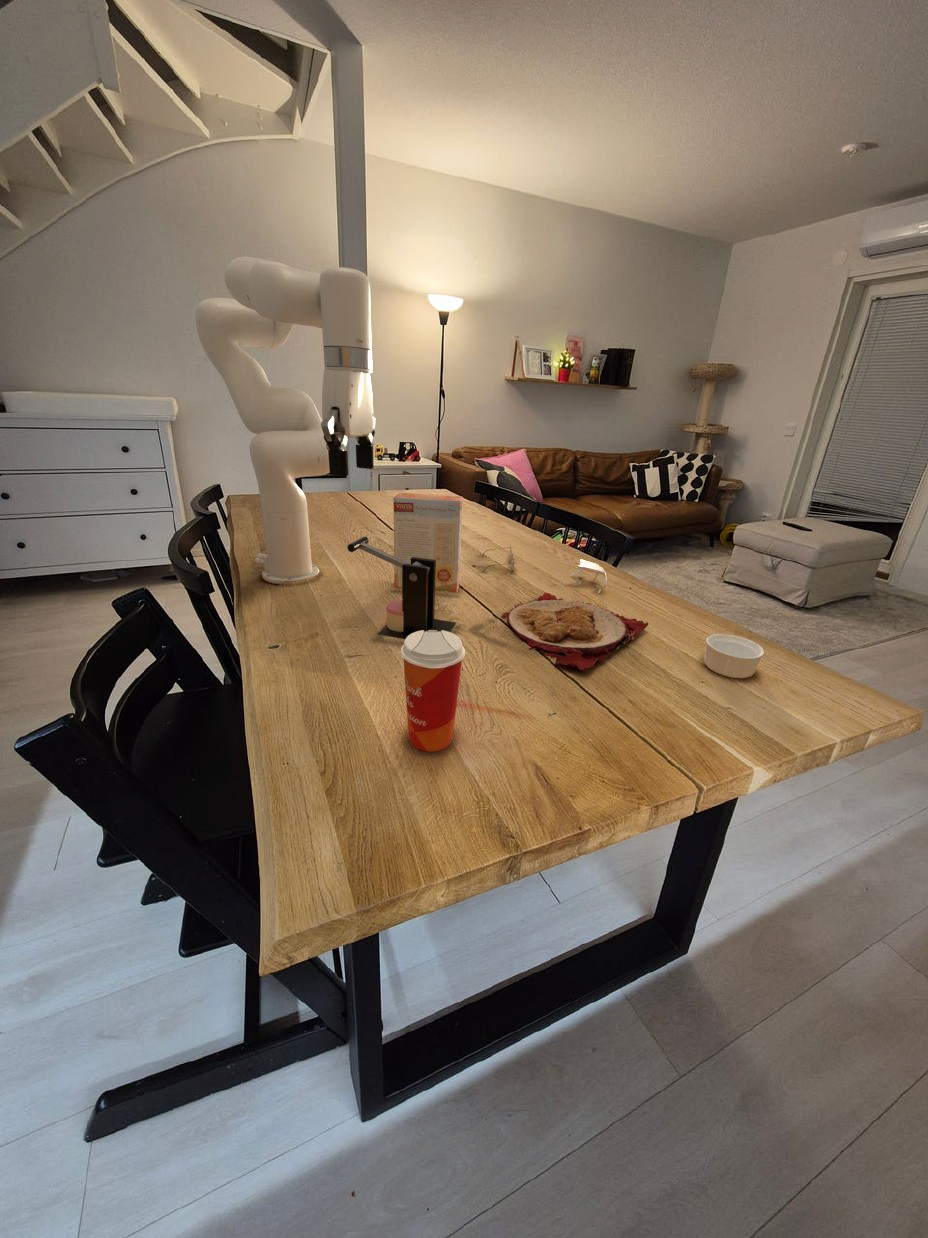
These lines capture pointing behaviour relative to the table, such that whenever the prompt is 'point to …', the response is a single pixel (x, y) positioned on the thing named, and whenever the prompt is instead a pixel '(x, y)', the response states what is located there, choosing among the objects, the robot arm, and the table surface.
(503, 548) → the eyeglasses
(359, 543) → the lever
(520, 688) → the table surface
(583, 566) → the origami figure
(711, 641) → the ramekin
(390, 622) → the cake
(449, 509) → the cracker box
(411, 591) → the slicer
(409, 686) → the paper cup
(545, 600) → the plate with food
